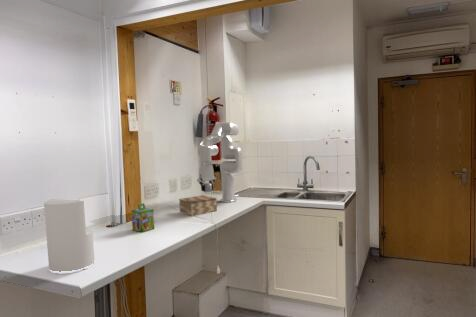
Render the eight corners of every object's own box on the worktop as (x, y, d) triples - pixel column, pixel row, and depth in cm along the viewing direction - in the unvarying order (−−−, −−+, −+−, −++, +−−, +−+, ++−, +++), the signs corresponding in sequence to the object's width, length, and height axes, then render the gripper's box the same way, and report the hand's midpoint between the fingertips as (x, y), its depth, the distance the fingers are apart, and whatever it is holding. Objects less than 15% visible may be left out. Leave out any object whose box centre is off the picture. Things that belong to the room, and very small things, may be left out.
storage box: (203, 207, 254) (203, 196, 253) (216, 211, 241) (216, 199, 241) (179, 212, 241) (179, 201, 241) (192, 216, 229) (191, 204, 228)
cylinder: (71, 276, 135) (66, 205, 133) (39, 271, 141) (33, 203, 139) (103, 260, 151) (99, 197, 149) (73, 257, 157) (69, 195, 155)
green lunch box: (141, 232, 194) (140, 206, 192) (131, 230, 199) (130, 204, 198) (155, 228, 201) (153, 203, 200) (145, 226, 206) (143, 201, 205)
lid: (203, 196, 253) (203, 195, 253) (216, 199, 241) (216, 198, 241) (179, 200, 240) (179, 199, 240) (191, 204, 228) (191, 202, 228)
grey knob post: (208, 190, 241) (208, 182, 241) (213, 190, 237) (213, 183, 236) (201, 191, 237) (200, 183, 237) (206, 192, 233) (206, 184, 232)
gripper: (212, 162, 244) (214, 188, 246) (192, 164, 233) (193, 191, 234) (219, 163, 239) (220, 189, 240) (198, 165, 227) (200, 192, 229)
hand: (207, 190), depth 237 cm, fingers closed on grey knob post, 6 cm apart
